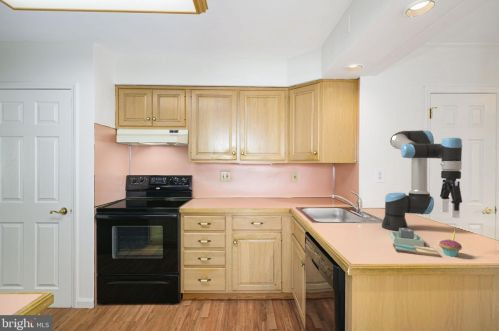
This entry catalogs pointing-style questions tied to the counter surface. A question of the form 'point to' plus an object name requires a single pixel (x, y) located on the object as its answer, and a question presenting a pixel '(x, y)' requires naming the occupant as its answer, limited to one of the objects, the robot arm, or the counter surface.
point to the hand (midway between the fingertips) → (449, 214)
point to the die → (406, 233)
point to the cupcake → (450, 247)
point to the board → (416, 250)
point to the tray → (416, 241)
